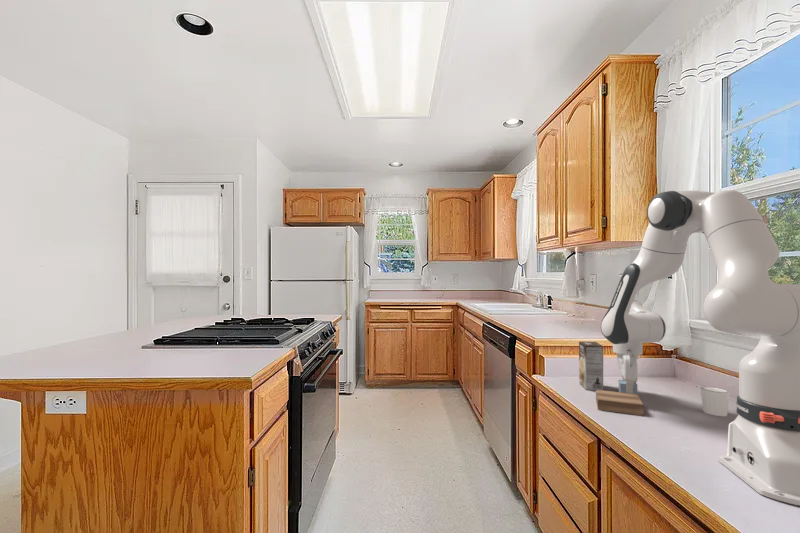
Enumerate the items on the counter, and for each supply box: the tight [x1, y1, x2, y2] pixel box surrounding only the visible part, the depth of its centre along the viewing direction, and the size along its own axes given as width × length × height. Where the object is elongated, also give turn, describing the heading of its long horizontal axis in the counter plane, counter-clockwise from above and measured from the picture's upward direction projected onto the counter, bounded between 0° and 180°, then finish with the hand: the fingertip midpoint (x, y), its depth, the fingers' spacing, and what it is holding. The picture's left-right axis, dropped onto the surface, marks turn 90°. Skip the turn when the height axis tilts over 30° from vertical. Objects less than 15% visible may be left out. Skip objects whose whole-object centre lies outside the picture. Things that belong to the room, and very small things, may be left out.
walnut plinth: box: [595, 389, 645, 416], centre depth 123 cm, size 12×12×3 cm
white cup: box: [700, 386, 731, 417], centre depth 118 cm, size 7×7×7 cm
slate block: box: [618, 379, 639, 395], centre depth 133 cm, size 5×5×5 cm
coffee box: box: [578, 341, 604, 391], centre depth 145 cm, size 9×6×16 cm
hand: (627, 388), depth 134 cm, fingers open, 8 cm apart
